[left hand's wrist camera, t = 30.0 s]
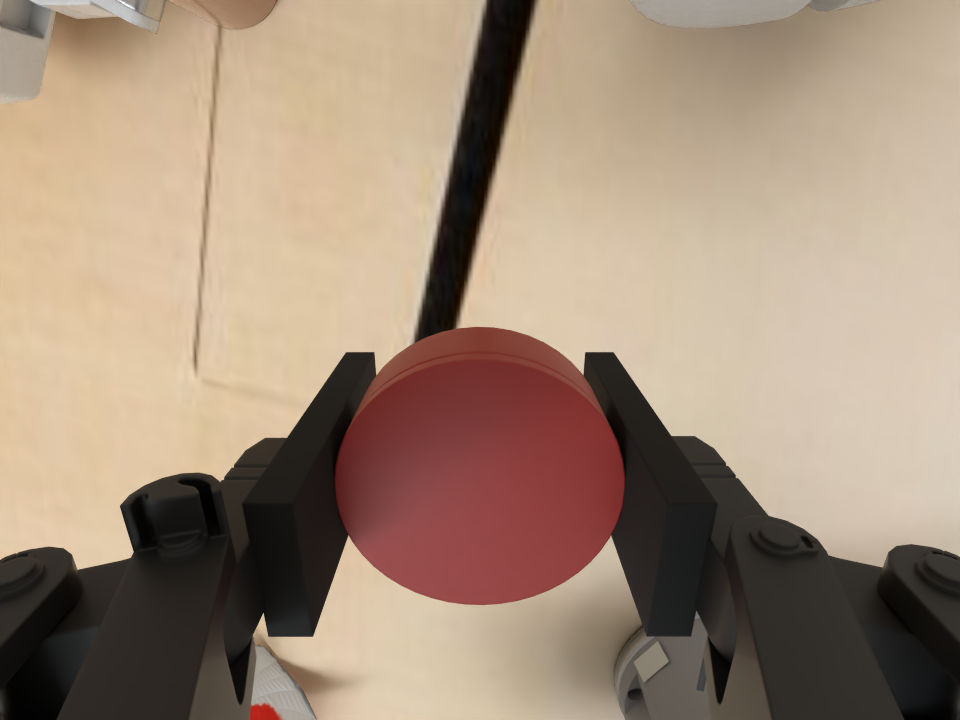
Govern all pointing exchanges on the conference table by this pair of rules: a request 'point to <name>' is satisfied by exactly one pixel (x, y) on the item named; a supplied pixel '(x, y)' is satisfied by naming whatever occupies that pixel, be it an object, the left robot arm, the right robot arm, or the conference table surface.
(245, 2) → the jar
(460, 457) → the lid
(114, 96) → the conference table surface
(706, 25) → the projector
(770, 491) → the conference table surface
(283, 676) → the fish
